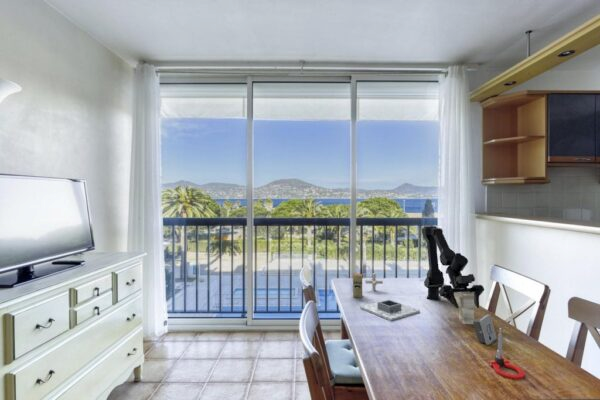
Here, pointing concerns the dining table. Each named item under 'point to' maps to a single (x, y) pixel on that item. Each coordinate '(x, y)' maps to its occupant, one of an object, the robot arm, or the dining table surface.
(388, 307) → the socket plate
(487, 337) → the electrical switch
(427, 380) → the dining table surface
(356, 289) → the shoe polish box
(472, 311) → the birch peg
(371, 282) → the pipe connector
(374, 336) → the dining table surface
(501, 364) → the tow hook
